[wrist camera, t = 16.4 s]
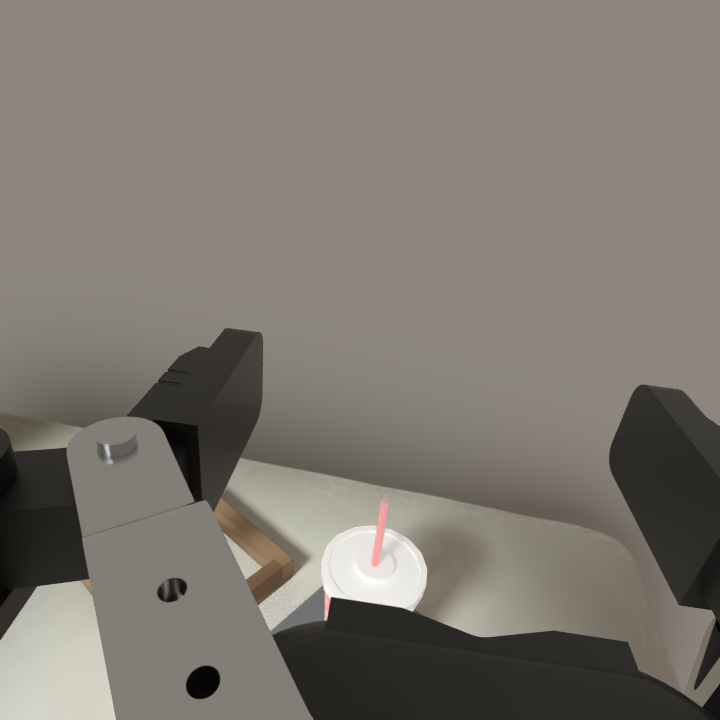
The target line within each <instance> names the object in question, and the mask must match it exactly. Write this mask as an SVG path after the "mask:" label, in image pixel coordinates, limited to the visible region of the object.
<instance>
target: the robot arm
mask: <svg viewBox="0 0 720 720" xmlns="http://www.w3.org/2000/svg"><path fill="white" fill-rule="evenodd" d="M262 377H263V338H262V334H261V333H260V332H253V331H246V330H238V329H231V328H226V329H224V331H223V332H222V333H221V335H220V336H219V337H218V338H217V339H216V341H215V342H214V343H213V344H212V346H211V347H210V348H206V347H197V348H195V349H193V350H191V351H189V352H187V353H185V354H183V355H181V356H179V357H178V359H177V360H176V361H175V362H174V363H173V364H172V365H171V367H170V368H169V369H168V372H165V373H164V374H163V375H162V377H161V378H160V379H159V381H158V383H155V385H154V386H153V387H152V388H151V389H150V390H149V391H148V393H147V394H146V395H145V396H144V397H143V398H142V399H141V401H140V402H139V403H138V404H137V405H136V406H135V407H134V408H133V410H132V411H131V412H130V413H129V414H128V415H127V416H126V417H117V418H111V419H106V420H102V421H99V422H97V423H94V424H92V425H90V426H88V427H86V428H84V429H82V430H81V431H79V432H78V433H77V434H76V435H75V436H74V437H73V438H72V439H71V440H70V442H69V444H68V446H67V448H59V449H45V450H31V451H17V452H13V449H12V446H11V442H10V438H9V436H8V434H7V433H6V432H5V431H4V430H2V429H0V640H1V639H2V637H3V636H4V634H5V633H6V631H7V630H8V628H9V627H10V625H11V624H12V622H13V621H14V619H15V618H16V617H17V615H18V614H19V612H20V611H21V609H22V608H23V606H24V605H25V603H26V602H27V600H28V599H29V598H30V596H31V595H32V593H33V592H34V590H35V589H36V587H37V586H42V585H49V584H57V583H64V582H72V581H80V580H87V579H90V584H91V589H92V595H93V600H94V605H95V610H96V616H97V621H98V626H99V631H100V637H101V642H102V647H103V653H104V658H105V663H106V668H107V674H108V679H109V684H110V689H111V695H112V700H113V705H114V711H115V716H116V720H720V426H719V425H717V424H715V423H714V422H713V421H711V420H710V419H708V418H707V417H706V416H705V415H704V414H703V413H702V412H701V411H700V410H699V409H698V407H697V406H696V405H695V404H694V403H693V402H692V400H691V399H690V398H689V397H688V396H687V395H686V394H685V393H684V392H683V391H682V390H679V389H673V388H665V387H657V386H650V385H640V386H638V387H637V388H636V389H635V390H634V392H633V394H632V396H631V398H630V401H629V403H628V406H627V408H626V410H625V413H624V415H623V418H622V420H621V422H620V425H619V427H618V430H617V432H616V434H615V437H614V439H613V442H612V445H611V448H610V454H609V464H610V469H611V472H612V475H613V477H614V479H615V481H616V483H617V485H618V487H619V488H620V490H621V492H622V494H623V496H624V498H625V500H626V502H627V504H628V506H629V508H630V510H631V512H632V514H633V516H634V518H635V520H636V522H637V524H638V526H639V528H640V530H641V532H642V533H643V536H644V538H645V539H646V541H647V543H648V545H649V547H650V549H651V551H652V553H653V555H654V557H655V559H656V561H657V563H658V565H659V567H660V569H661V571H662V573H663V575H664V577H665V579H666V580H667V582H668V585H669V587H670V589H671V591H672V593H673V594H674V596H675V598H676V600H677V602H678V604H679V605H681V606H688V607H694V608H701V609H708V610H712V611H713V613H714V615H715V617H714V619H713V620H712V622H711V623H710V625H709V626H708V628H707V630H706V632H705V635H704V638H703V641H702V644H701V647H700V650H699V652H698V655H697V658H696V661H695V664H694V667H693V670H692V673H691V676H690V679H689V682H688V685H687V688H686V691H685V694H682V693H681V692H679V691H677V690H676V689H674V688H672V687H671V686H669V685H667V684H666V683H664V682H662V681H660V680H657V679H655V678H653V677H651V676H649V675H647V674H645V673H643V672H640V671H639V670H638V668H637V665H636V662H635V660H634V657H633V655H632V652H631V649H630V647H629V644H628V642H624V641H618V640H611V639H604V638H598V637H591V636H585V635H578V634H572V633H565V632H559V631H546V632H536V633H526V634H517V635H507V636H497V637H477V636H473V635H471V634H468V633H465V632H463V631H460V630H458V629H455V628H453V627H450V626H448V625H445V624H443V623H440V622H438V621H435V620H432V619H430V618H427V617H425V616H422V615H420V614H417V613H415V612H412V611H410V610H407V609H405V608H401V607H395V606H388V605H382V604H375V603H368V602H362V601H355V600H349V599H342V598H336V597H331V599H330V605H329V611H328V617H327V620H325V621H315V622H310V623H305V624H301V625H296V626H293V627H290V628H288V629H285V630H282V631H279V632H277V633H275V634H273V635H272V634H271V632H270V630H269V628H268V626H267V624H266V622H265V620H264V618H263V615H262V613H261V611H260V609H259V607H258V605H257V603H256V601H255V599H254V597H253V595H252V592H251V590H250V588H249V586H248V584H247V582H246V580H245V578H244V576H243V574H242V572H241V569H240V567H239V565H238V563H237V561H236V559H235V557H234V555H233V553H232V551H231V548H230V546H229V544H228V542H227V540H226V538H225V536H224V534H223V532H222V530H221V528H220V525H219V523H218V521H217V519H216V517H215V515H214V511H215V509H216V507H217V504H218V502H219V500H220V498H221V496H222V494H223V492H224V490H225V488H226V486H227V483H228V481H229V479H230V477H231V475H232V473H233V471H234V469H235V467H236V465H237V463H238V460H239V458H240V456H241V454H242V452H243V450H244V448H245V446H246V444H247V442H248V439H249V437H250V435H251V433H252V431H253V429H254V427H255V424H256V423H257V420H258V417H259V413H260V409H261V402H262Z"/></svg>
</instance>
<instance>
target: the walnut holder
mask: <svg viewBox="0 0 720 720" xmlns="http://www.w3.org/2000/svg"><path fill="white" fill-rule="evenodd" d="M214 515H215V517H216V519H217V521H218V523H219V525H220V528H221V530H222V531H223V532H224V533H225V534H226V535H227V536H228V537H230V538H231V539H232V540H233V541H234V542H235V543H236V544H237V545H238V546H240V547H241V548H242V549H243V550H244V551H245V552H246V553H247V554H248V555H249V556H251V557H252V558H253V559H254V560H255V561H256V562H257V563H258V564H259V565H261V566H262V567H263V568H261V569H260V570H259V571H257V572H256V573H255V574H253V575H252V576H251V577H249V578H248V579H247V580H246V582H247V584H248V586H249V588H250V590H251V592H252V595H253V597H254V599H255V601H256V603H257V605H258V604H260V603H261V602H262V601H263V600H264V599H266V598H267V597H268V596H269V595H271V594H272V593H273V592H274V591H276V590H277V589H278V588H279V587H280V586H282V585H283V584H284V583H285V582H287V581H288V580H289V579H290V578H292V570H293V559H292V558H291V557H290V556H289V555H288V554H287V553H285V552H284V551H283V550H282V549H281V548H279V547H278V546H277V545H276V544H275V543H274V542H272V541H271V540H270V539H269V538H268V537H267V536H265V535H264V534H263V533H262V532H261V531H259V530H258V529H257V528H256V527H255V526H254V525H252V524H251V523H250V522H249V521H248V520H246V519H245V518H244V517H243V516H242V515H241V514H239V513H238V512H237V511H236V510H235V509H233V508H232V507H231V506H230V505H229V504H228V503H226V502H225V501H224V500H223V499H222V498H220V500H219V502H218V504H217V507H216V509H215V511H214ZM81 581H82V583H83V584H84V585H85V586H86V588H87V589H88V590H89V592H90V593H91V594H92V589H91V584H90V579H87V580H81ZM92 596H93V595H92Z"/></svg>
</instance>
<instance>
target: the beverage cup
mask: <svg viewBox="0 0 720 720" xmlns="http://www.w3.org/2000/svg"><path fill="white" fill-rule="evenodd" d="M389 504H390V499H389V498H387V497H383V498H382V499H381V504H380V510H379V517H378V523H377V526H373V525H372V526H360V527H353V528H351V529H349V530H347V531H344V532H342V533H340V534H338V535H337V536H336V537H335V538H334V539H333V540H332V541H331V542H330V543H329V544H328V545H327V546H326V549H325V553H324V556H323V559H322V562H321V569H322V570H321V575H322V581H323V587H324V591H325V620H327V617H328V611H329V605H330V599H331V597H336V598H342V599H349V600H355V601H362V602H368V603H375V604H382V605H388V606H395V607H401V608H405V609H407V610H410V611H412V612H413V611H414V609H415V607H416V606H417V604H418V603H419V601H420V600H421V598H422V597H423V592H424V591H425V588H426V580H427V567H426V564H425V561H424V559H423V556H422V553H421V552H420V551H419V550H418V549H417V548H416V546H415V545H414V544H413V543H412V542H411V541H410V540H409V539H408V538H406V537H404V536H403V535H401V534H399V533H397V532H395V531H394V530H392V529H387V528H385V527H386V521H387V516H388V510H389Z"/></svg>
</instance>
